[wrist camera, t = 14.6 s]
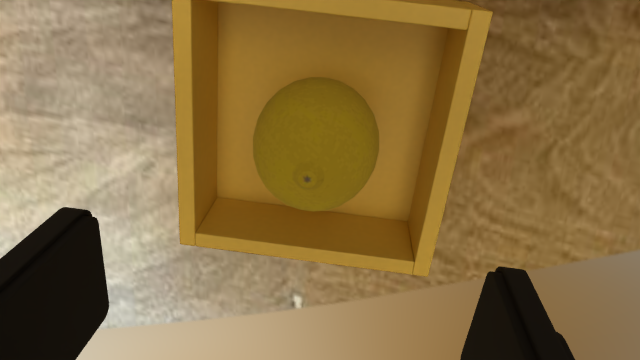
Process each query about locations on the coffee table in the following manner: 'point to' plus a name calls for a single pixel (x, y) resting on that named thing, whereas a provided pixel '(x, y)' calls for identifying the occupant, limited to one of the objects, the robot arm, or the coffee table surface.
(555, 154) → the coffee table surface
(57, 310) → the robot arm
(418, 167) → the yellow bin
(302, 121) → the lemon
